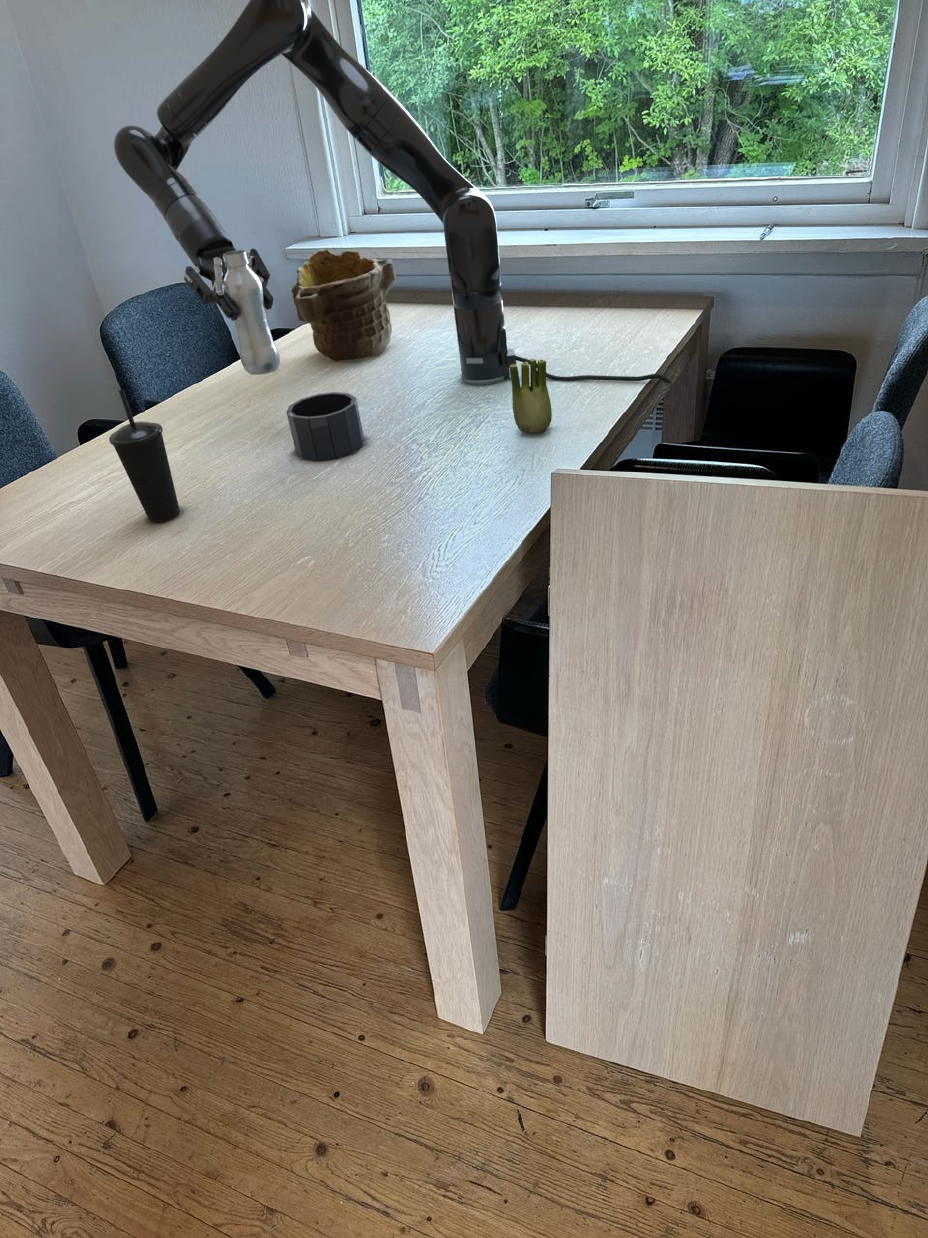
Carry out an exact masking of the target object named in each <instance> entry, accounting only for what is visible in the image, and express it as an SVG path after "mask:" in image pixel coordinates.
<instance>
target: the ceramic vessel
mask: <svg viewBox="0 0 928 1238" xmlns="http://www.w3.org/2000/svg"><path fill="white" fill-rule="evenodd" d="M392 260H393V259H390V258H387V259H376V258H371V259H369V258H367V257H366V256H365V257H362V256H361V255H360V252H359V251H355V250H354V251H353V250H346V251H343V252H341V254H336V253H335V252H332V251H330V250H329V249H328V248H321V249H318V250H316V251H314V252H312V253H311V254H310V256H309V257H308V258H307V260H305V262H303V264H302V265H301V266H300V267H298V268H296V273H297V275H296V276H297V277H296V283H295V284H293V285H292V286H291V294H292V299H293V301H294V302H293V303H294V306H295V309H296V315H297V319H298V321H301V322H304V323H306V324H309V325H310V327H311V330H312V340H313V344H314V348H315V349H316V350H317V351H318V352H319V353H320V354H321V355H322V356H324V357H326V358H328V359H329V360H331V361H334V362H342V361H344V362H345V361H352V360H357V359H362V358H363V359H364V358H367V357H373V356H378V355H379V354H381V353H383V352H384V350H385V349H386V347H387V346H388V345H389V344H390V341H391V336H392V333H393V327H392V322H391V314H390V310H389V306H388V304H387V301H386V297H387V295H388V293H389V292H390V290H391V289H393V287H394V286H395V284H396V281H397V276H396V271H395V267H394V261H392Z"/></svg>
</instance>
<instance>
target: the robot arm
mask: <svg viewBox="0 0 928 1238" xmlns="http://www.w3.org/2000/svg"><path fill="white" fill-rule="evenodd" d="M280 56H282V57H284V58H285V59H286V60H287V61H289V62H290V64H292V65H293V66H294V67H295V68H296V69H298V71H300V72H301V73H302V74H303V75H304V77H306V78H307V79H308V80H309V81H310V82H311V83H312V84H313V85H314V86H315V88H316V89H317V91H319V93H320V94H321V95H322V97H323V98H324V100H325V102H326V103H327V105H328V106H329V108H330V109H331V110H332V112H333V113H334V114H335V116H336V117H337V119H338V120H339V121H340V123H341V124H342V125H343V127H344V128H345V129H346V130H347V132H349V134H350V135H351V136H352V137H353V139H356V140H355V141H357V143H358V144H359V145H360V146H361V147H362V148H364V150H365V151H366V152H367V153H368V154H369V155H370V156H371V157H372V158H373V159H374V160H375V161H376V162H377V163H379V164H380V165H381V166H382V167H383V168H385V169H386V170H387V171H389V172H390V173H391V174H392V175H394V176H395V177H397V178H398V179H399V180H400V181H402V182H403V183H404V184H406V185H407V186H409V187H410V188H411V189H412V190H414V191H415V192H416V193H417V194H418V195H419V196H420V198H422V199H423V201H425V203H426V205H428V207H430V209H431V210H432V211H433V212H434V214H435V215H436V216H437V217H438V219H439V220H440V222H441V223H442V226H443V234H444V243H445V249H446V259H447V266H448V267H447V268H448V274H449V280H450V289H451V296H452V305H453V306H452V307H453V312H454V322H455V330H456V339H457V347H458V355H459V364H460V372H461V376H460V377H461V380H462V382H463V383H465V384H467V385H468V384H469V385H476V386H481V385H482V386H483V385H490V384H495V383H499V382H501V381H505V380H510V379H511V373H510V365H512V364H516V365H517V362H521V363H524V362H528V364H529V366H530V359H528V358H524V357H521V356H519V355H517V354H516V350H515V348H508V341H507V340H508V339H507V331H506V324H505V314H504V303H503V293H502V292H503V291H502V280H501V263H500V261H501V260H500V252H499V239H498V226H497V217H496V213H495V210H494V206H493V204H492V202H491V200H490V198H488V196H487V195H485V194H484V192H482V191H481V190H480V189H478V188H477V187H476V186H475V185H474V184H472V183H471V181H469V180H468V179H467V178H465V176H463V175H462V174H461V173H460V172H459V171H458V170H457V169H456V168H455V167H453V166H452V164H450V163H449V162H448V161H447V159H445V157H444V156H443V155H442V154H441V153H440V151H439V150H438V148H437V147H436V146H435V144H434V143H433V141H432V140H431V138H430V137H429V136H428V135H427V133H426V132H425V131H424V130H423V128H422V127H421V126H420V124H419V123H418V122H417V121H416V120H415V119H414V118H413V116H412V115H411V114H410V113H409V111H408V110H407V109H406V108H405V107H404V106H403V105H402V104H401V102H400V101H399V100H398V99H397V98H396V97H395V96H394V95H393V94H392V93H391V92H390V91H389V90H388V88H387V87H385V86H384V85H383V84H382V83H381V81H379V80H378V79H377V78H376V77H375V76H374V75H373V74H372V73H371V71H369V70H368V69H367V68H365V66H364V65H362V64H361V63H360V62H359V61H357V59H356V58H354V57H353V56H352V55H351V54H350V53H348V52H347V51H346V50H345V49H344V48H343V47H342V45H340V43H339V42H338V40H336V39H335V37H334V36H333V35H332V34H331V32H330V30H328V28H327V27H326V26H325V24H324V23H323V22H322V21H321V20H320V18H319V17H318V15H317V14H316V13H315V12H314V9H312V7H311V6H310V5H309V2H307V0H249V1H248V2H247V4H246V6H245V7H244V9H243V10H242V12H241V13H240V15H239V16H238V18H237V20H236V21H235V22H234V24H233V25H232V27H231V28H230V29H229V31H228V32H227V33H226V35H225V36H223V38H222V40H220V41H219V43H218V44H217V46H216V47H215V48H214V49H212V51H211V52H210V53H209V54H208V55H207V56H206V57H205V58H204V59H203V60H202V61H201V62H200V63H199V64H198V65H197V66H196V67H195V68H194V69H193V70H192V71H191V72H189V74H188V75H187V76H186V77H185V78H184V79H182V80H181V81H180V82H179V83H178V84H177V86H176V87H175V88H174V89H172V90H171V92H170V93H169V94H168V95H167V96H166V97H165V98H164V99H163V100H162V101H161V102H160V104H159V105H158V106H157V108H156V117H157V119H158V121H159V123H160V125H161V126H160V128H159V130H158V131H157V133H156V134H153V133H152V132H150V131H148V130H146V129H144V128H143V127H141V126H137V125H135V124H134V125H132V124H131V125H130V124H129V125H125V126H123V127H121V128H120V129H119V130H118V131H117V132H116V134H115V136H114V138H113V151H114V154H115V157H116V160H117V162H118V164H119V165H120V167H121V168H122V170H123V171H124V172H125V174H126V175H127V176H128V177H129V178H130V179H131V180H132V181H133V182H134V184H135V185H137V187H138V188H139V189H140V190H141V191H142V192H143V193H144V194H145V195H146V196H147V197H148V198H149V199H150V200H151V201H152V203H153V204H154V206H155V208H156V209H157V211H158V212H159V213H160V215H161V217H162V218H163V219H164V221H165V222H166V224H167V225H168V228H169V230H170V231H171V233H172V236H173V237H174V238H175V240H176V241H177V242H178V244H179V245H180V247H181V248H182V250H183V251H184V252H185V253H186V254H185V255H187V257H188V259H189V260H190V261H191V263H192V264H193V265H194V267H192V266H189V265H188V266H186V267H185V271H184V275H183V280H184V282H185V283H186V284H187V285H188V286H189V287H190V289H191V290H192V291H193V292H194V293H195V295H196V296H197V297H198V298H199V299H200V300H201V302H202V303H203V304H205V305H209V304H211V303H215V305H218V307H219V309H221V311H222V313H223V314H224V315H225V317H226V318H227V319H230V320H231V321H232V322H233V321H234V320H237V318H238V315H239V313H238V310H237V309H236V307H235V306H234V304H233V303H232V302H231V300H230V299H229V297H228V296H227V295H224V289H223V280H224V277H225V275H226V273H227V267H225V264H224V263H225V261H224V257H223V254H224V253H227V252H231V251H237V250H238V249H236V248H235V246H234V244H233V242H232V240H231V239H232V238H231V237H230V236H229V235H228V233H227V232H226V230H225V229H224V228H223V226H222V225H221V224H220V221H219V220H218V219H217V218H216V216H215V214H214V213H213V211H212V210H211V209H210V208H209V206H208V205H207V204H206V203H205V202H204V201H203V200H202V198H201V197H200V196H199V194H198V192H197V191H196V190H195V188H194V187H193V186H192V184H191V183H190V182H189V180H188V179H187V178H186V177H185V176H184V175H183V174H182V173H180V172H179V171H178V169H179V168H180V166H181V164H182V162H183V160H184V159H185V157H186V155H187V154H188V152H189V150H190V147H191V145H192V144H193V141H195V139H197V138H198V137H199V136H200V135H201V134H202V133H203V132H204V131H205V130H206V129H207V128H208V127H209V126H210V125H211V124H212V123H213V122H214V121H215V120H216V119H217V118H218V116H219V115H221V113H222V112H223V111H224V110H225V108H226V107H227V106H228V105H229V103H230V102H231V101H232V100H233V98H234V97H235V96H236V94H238V92H239V91H240V89H241V88H242V87H243V86H244V85H245V84H246V83H247V82H248V80H249V79H250V78H252V77H253V76H254V74H256V73H257V72H258V71H260V70H261V69H262V68H263V67H264V66H266V65H267V64H269V63H270V62H272V61H273V60H274V59H276V58H278V57H280ZM246 255H247V259H248V261H249V263H248V264H247V265H248V267H249V268H250V269H251V270H252V271H253V272H254V273H255V274H256V275H257V276H258V277H259V279H260V281H261V283H262V288H263V289H262V290H263V297H264V307H265V311H266V310H267V311H268V310H271V309H272V308H273V305H274V297H273V295H272V294H271V292H270V290H269V289H268V288H267V286H268V282H269V279H270V277H271V274H270V273H271V272H269V270H268V268H267V267H266V264H265V263H264V261H263V259H262V257H261V255H260V254H259V251H258V250H257V249H255V248H250V250H249V252H246ZM202 277H203V278H205V279H207V280H209V281H210V284H211V287H210V286H209V285H208V283H206V282H205V281H204V280H203V278H202ZM234 322H235V321H234ZM536 365H537V366H536V369H537V368H538V362H536ZM546 379H549V380H552V381H557V382H558V381H560V382H575V381H608V382H609V381H610V382H613V381H614V382H642V381H648V380H654V379H658V380H661V381H663V382H664V383H665V384H671V383H672V380H671V379H670V378H668V377H667V376H665V375H663V374H661V373H651V374H645V375H640V376H638V375H637V376H635V375H634V376H633V375H632V376H631V375H630V376H628V375H627V376H626V375H624V376H623V375H597V374H596V375H594V374H583V375H582V374H581V375H569V376H559V375H553V374H550V373H549V372H547V371H546Z"/></svg>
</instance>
